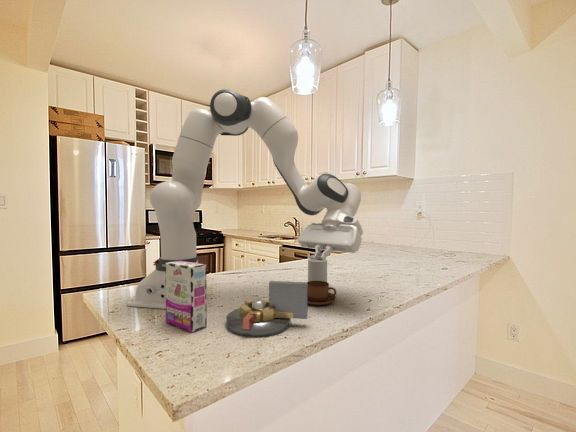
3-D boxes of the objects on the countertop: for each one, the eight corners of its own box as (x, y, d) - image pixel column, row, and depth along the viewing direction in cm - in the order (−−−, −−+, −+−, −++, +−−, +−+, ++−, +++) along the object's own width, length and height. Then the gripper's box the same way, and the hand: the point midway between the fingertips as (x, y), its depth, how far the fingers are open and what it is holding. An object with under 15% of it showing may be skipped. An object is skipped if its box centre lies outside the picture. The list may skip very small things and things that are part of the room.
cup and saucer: (332, 296, 104) (333, 278, 103) (338, 308, 92) (338, 288, 91) (298, 296, 103) (298, 278, 103) (299, 308, 92) (300, 288, 91)
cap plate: (219, 338, 70) (219, 313, 70) (232, 311, 88) (232, 291, 87) (291, 337, 71) (291, 312, 70) (289, 311, 88) (289, 291, 88)
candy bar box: (208, 326, 77) (207, 264, 76) (192, 333, 73) (191, 267, 72) (180, 317, 83) (180, 259, 83) (164, 323, 79) (164, 262, 78)
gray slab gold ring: (235, 320, 75) (234, 285, 75) (246, 307, 85) (246, 276, 84) (305, 325, 72) (305, 288, 72) (308, 311, 82) (309, 278, 82)
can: (326, 289, 111) (326, 257, 111) (306, 288, 113) (306, 257, 112) (327, 284, 119) (327, 254, 118) (309, 283, 120) (309, 253, 120)
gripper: (305, 217, 100) (287, 249, 93) (362, 218, 87) (345, 256, 80) (312, 229, 104) (295, 261, 96) (368, 232, 91) (353, 270, 83)
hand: (318, 259), depth 88 cm, fingers closed
